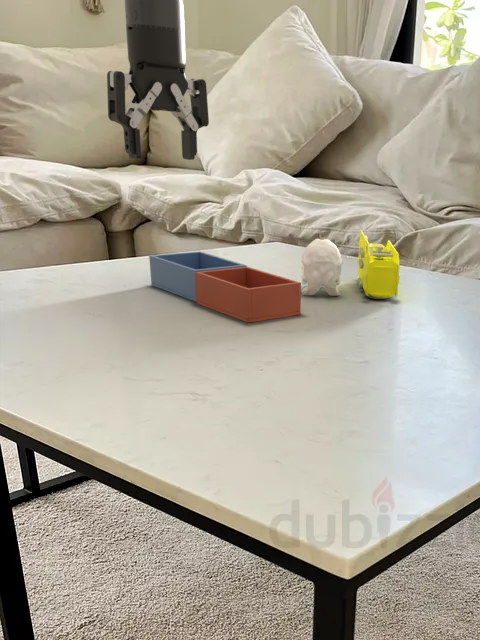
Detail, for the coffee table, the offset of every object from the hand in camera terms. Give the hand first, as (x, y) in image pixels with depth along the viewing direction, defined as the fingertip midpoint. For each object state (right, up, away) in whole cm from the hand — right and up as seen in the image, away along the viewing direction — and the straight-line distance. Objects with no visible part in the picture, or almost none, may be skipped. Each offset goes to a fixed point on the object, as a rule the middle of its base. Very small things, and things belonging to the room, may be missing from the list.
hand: (162, 158), depth 111 cm
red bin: (+12, -21, +3) cm, 24 cm away
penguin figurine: (+21, -14, +16) cm, 30 cm away
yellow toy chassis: (+30, -13, +20) cm, 38 cm away
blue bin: (+3, -15, +11) cm, 19 cm away
